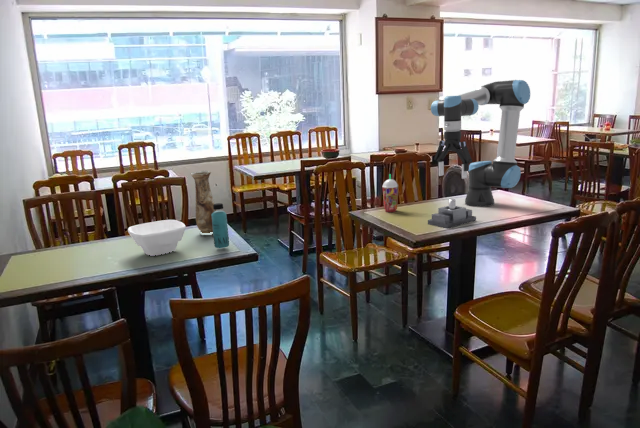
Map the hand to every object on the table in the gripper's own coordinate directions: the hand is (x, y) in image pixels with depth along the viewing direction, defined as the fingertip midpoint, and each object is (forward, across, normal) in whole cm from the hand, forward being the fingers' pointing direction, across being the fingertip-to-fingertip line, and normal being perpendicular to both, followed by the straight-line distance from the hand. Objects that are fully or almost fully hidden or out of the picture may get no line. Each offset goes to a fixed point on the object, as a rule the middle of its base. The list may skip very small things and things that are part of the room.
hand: (452, 176), depth 229 cm
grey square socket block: (+20, 0, 0) cm, 20 cm away
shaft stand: (+22, 0, 0) cm, 22 cm away
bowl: (+21, -54, -122) cm, 135 cm away
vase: (+21, -69, -94) cm, 119 cm away
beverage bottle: (+21, -39, -100) cm, 110 cm away
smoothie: (+22, -39, -3) cm, 45 cm away
